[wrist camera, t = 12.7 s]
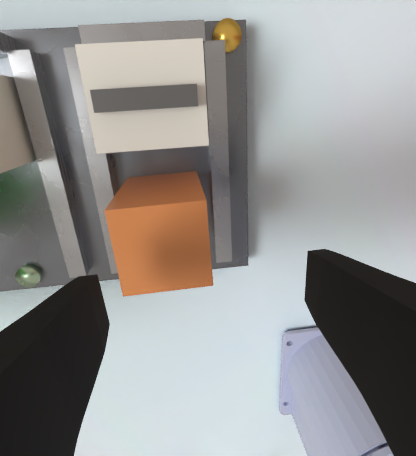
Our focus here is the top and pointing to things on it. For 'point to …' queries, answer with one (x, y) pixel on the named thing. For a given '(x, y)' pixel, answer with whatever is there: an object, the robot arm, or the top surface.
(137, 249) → the orange block
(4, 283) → the breaker panel
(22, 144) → the toggle
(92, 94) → the toggle
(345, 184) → the top surface
